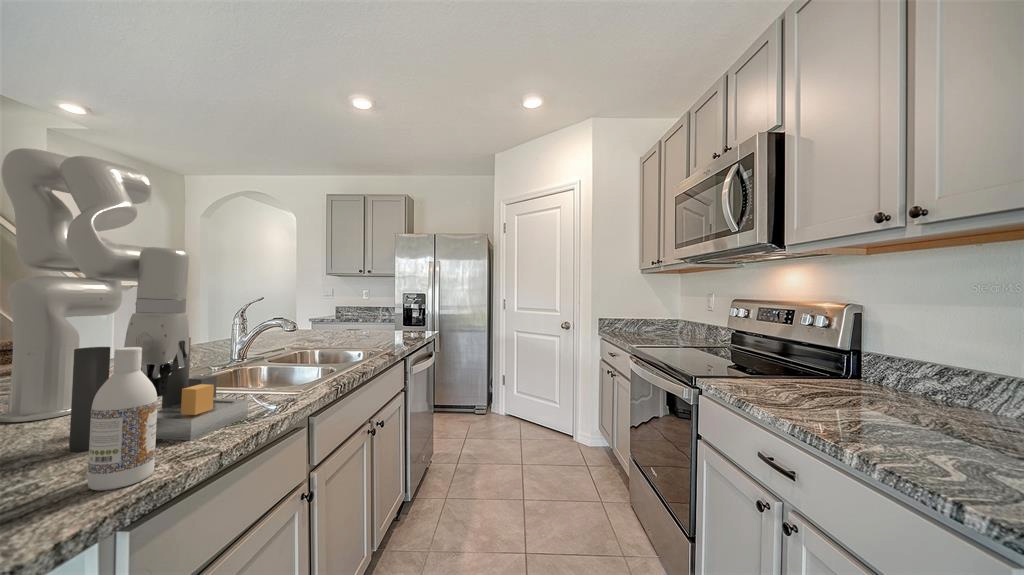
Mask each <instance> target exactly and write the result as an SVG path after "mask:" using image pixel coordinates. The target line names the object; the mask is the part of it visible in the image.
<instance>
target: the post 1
mask: <svg viewBox="0 0 1024 575" xmlns="http://www.w3.org/2000/svg"><path fill="white" fill-rule="evenodd" d="M110 361H111V346H90V347H79V348H78V349H74V363H73V383H72V403H71V414H70V421H69V422H70V424H69V425H70V426H69V444H68V445H69V446H68V452H69V453H82V452H89V440H90V421H91V409H92V403H93V400H94V397H95V395H96V393H97V392H98V390H99V389H100V388H101V387H102V385H103V384H104V383H105V382H106V381H107V380H108V379H109V377H110V367H111V366H110V364H111V362H110Z"/></svg>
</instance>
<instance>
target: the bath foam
mask: <svg viewBox="0 0 1024 575" xmlns="http://www.w3.org/2000/svg"><path fill="white" fill-rule="evenodd" d="M113 353H114V354H113V355H114V356H113V357H114V358H113V373H112V374H111V375H109V379H108V380H107V381H106V382H105V383H104V384H103V385H102V387H101V388H100V389H99V390H98V392H97V393H96V395H95V397H94V400H93V403H92V409H91V421H90V440H89V451H88V461H87V462H88V464H87V465H88V466H87V467H88V468H87V472H88V473H87V487H88V488H89V489H90V490H93V491H111V490H116V489H121V488H124V487H128V486H131V485H134V484H137V483H140V482H141V481H144V480H145V479H148V478H149V477H150V476H151V475H152V474H153V473H154V471H155V463H156V462H155V459H156V440H157V439H156V422H157V410H158V397H157V393H156V389H155V387H154V385H153V384H152V382H151V381H150V380H149V379H148V378H147V377H146V375H145V374H144V373H143V372H142V371H141V370H140V369H141V360H142V348H141V347H125V348H124V347H119V348H118V347H117V348H115V349H114V352H113Z"/></svg>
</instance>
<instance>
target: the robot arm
mask: <svg viewBox="0 0 1024 575" xmlns="http://www.w3.org/2000/svg"><path fill="white" fill-rule="evenodd" d="M1 179H2V183H3V186H4V189H5V191H6V194H7V196H8V198H9V200H10V201H11V204H12V208H13V210H14V211H13V212H14V222H15V238H16V239H15V240H16V253H17V258H18V260H19V262H20V264H21V265H22V266H24V267H25V268H28V269H31V270H37V271H45V272H57V273H58V272H61V273H62V272H63V273H78V274H79V273H80V274H83V275H84V276H85V277H78V276H77V277H76V276H64V275H63V276H59V275H58V276H55V275H37V276H36V275H35V276H28V277H23V278H21V279H20V278H19V279H18V280H16V281H14V282H13V283H12V284H11V285H10V287H9V289H8V291H7V292H8V293H7V296H8V298H7V299H8V304H9V307H10V311H11V313H10V314H11V318H12V329H13V332H12V333H13V336H12V358H11V361H12V362H11V375H10V376H11V378H10V379H11V380H10V392H9V395H8V396H7V398H6V397H5V398H3V399H2V400H1V399H0V400H1V401H0V404H1V405H6V406H7V410H5V411H2V412H0V423H21V422H22V423H23V422H31V421H40V420H47V419H52V418H58V417H62V416H67V415H71V403H72V383H73V363H74V349H78V348H80V334H79V331H78V330H77V329H76V327H75V326H74V325H73V324H72V323H71V322H70V321H69V320H68V319H67V318H72V317H95V316H96V317H97V316H98V317H99V316H108V315H110V314H114V313H115V312H117V311H118V309H119V308H120V306H121V304H122V301H123V289H122V282H137V287H136V288H137V289H136V302H135V304H134V305H135V313H134V312H133V313H132V315H131V316H130V318H129V322H128V324H127V328H126V332H125V333H126V334H125V338H124V344H123V345H124V346H123V348H125V347H141V348H142V360H141V369H140V370H141V371H142V372H143V373H144V374H145V375H146V377H147V378H148V379H149V380H150V381H151V382H152V384H153V385H154V387H155V389H156V393H157V398H158V397H162V396H163V395H166V393H167V382H168V376H170V375H171V373H172V371H173V370H175V369H180V368H183V367H184V360H186V359H187V357H188V352H189V337H190V326H189V320H188V315H187V314H186V309H187V292H188V282H189V281H188V279H189V270H190V269H189V267H190V255H189V254H188V252H186V250H182V249H176V248H170V247H169V248H167V247H161V246H157V247H156V246H148V247H146V246H139V245H132V244H123V243H116V242H115V243H114V242H112V241H110V240H109V239H107V238H104V237H100V235H99V232H104V231H110V230H114V229H120V228H123V227H125V226H128V225H130V224H131V223H132V222H134V221H135V219H137V217H138V209H137V207H136V206H135V205H138V204H139V205H140V204H143V203H145V202H146V201H148V200H149V198H150V197H151V195H152V184H151V181H150V180H149V179H150V178H148V176H147V175H145V174H144V173H143V172H142V171H140V170H139V169H136V168H133V167H130V166H126V165H122V164H120V163H116V162H112V161H108V160H105V159H102V158H96V157H92V156H88V155H77V156H76V155H75V156H67V155H63V154H60V153H56V152H52V151H48V150H42V149H35V148H15V149H13V150H11V151H9V152H8V153H7V154H6V155H5V157H4V159H3V161H2V165H1ZM53 191H56V192H61V193H65V194H70V195H71V197H72V198H73V201H74V203H75V205H76V206H77V209H78V210H79V212H80V213H79V214H78V215H77V216H75V217H74V216H73V213H72V211H71V210H70V208H69V206H67V205H66V203H65V202H64V201H63V200H62V199H61V198H60V197H59V196H57V195H56V194H55V193H53Z"/></svg>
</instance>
